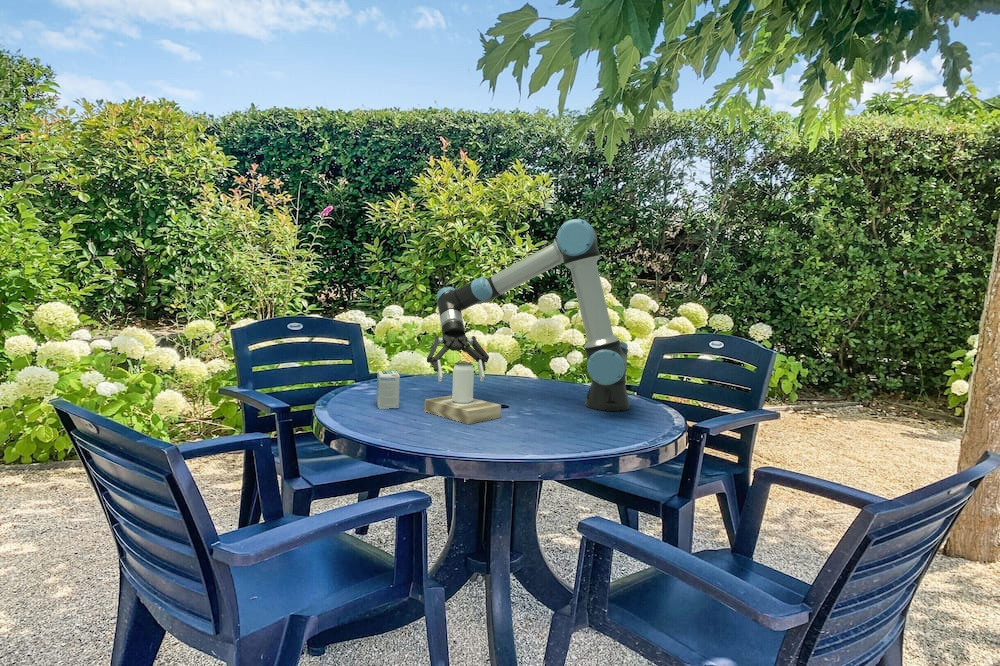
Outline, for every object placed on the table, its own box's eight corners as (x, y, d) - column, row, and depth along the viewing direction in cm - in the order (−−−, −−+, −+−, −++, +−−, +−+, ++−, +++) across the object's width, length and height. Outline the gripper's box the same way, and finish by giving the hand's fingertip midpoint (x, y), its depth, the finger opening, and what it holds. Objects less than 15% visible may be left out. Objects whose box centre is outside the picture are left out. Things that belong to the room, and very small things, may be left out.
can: (450, 399, 193) (451, 362, 192) (470, 399, 195) (471, 362, 193) (454, 403, 187) (455, 365, 185) (474, 403, 188) (476, 365, 187)
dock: (500, 417, 189) (501, 404, 189) (468, 424, 179) (468, 410, 179) (456, 406, 203) (456, 393, 202) (424, 412, 192) (424, 398, 192)
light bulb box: (376, 402, 204) (376, 370, 203) (396, 402, 205) (397, 370, 204) (378, 409, 193) (379, 376, 192) (399, 409, 195) (400, 376, 194)
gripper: (485, 334, 210) (496, 385, 197) (413, 333, 202) (420, 386, 190) (490, 320, 204) (502, 371, 192) (417, 318, 197) (424, 372, 184)
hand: (461, 379), depth 191 cm, fingers open, 13 cm apart
